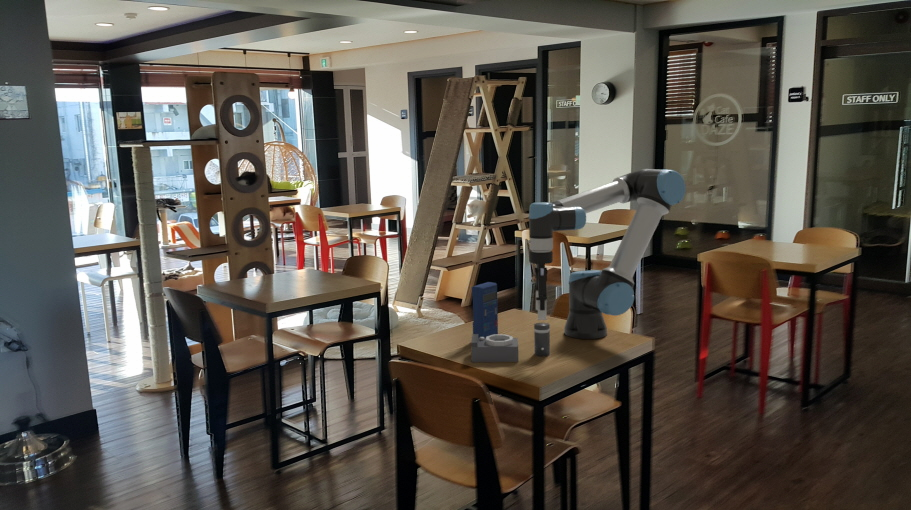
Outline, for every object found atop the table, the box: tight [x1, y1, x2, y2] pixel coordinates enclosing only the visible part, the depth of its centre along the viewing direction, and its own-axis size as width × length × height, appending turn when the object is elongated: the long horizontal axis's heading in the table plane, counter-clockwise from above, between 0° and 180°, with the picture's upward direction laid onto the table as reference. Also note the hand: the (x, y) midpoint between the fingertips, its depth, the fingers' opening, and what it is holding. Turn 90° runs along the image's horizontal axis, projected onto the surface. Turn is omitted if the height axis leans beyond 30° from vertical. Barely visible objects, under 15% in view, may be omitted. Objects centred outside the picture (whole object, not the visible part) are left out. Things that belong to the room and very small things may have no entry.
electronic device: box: [471, 281, 499, 338], centre depth 251 cm, size 10×5×20 cm, turn 141°
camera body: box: [470, 333, 519, 363], centre depth 231 cm, size 15×10×6 cm, turn 86°
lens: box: [533, 322, 551, 357], centre depth 233 cm, size 5×5×10 cm
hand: (540, 314), depth 231 cm, fingers open, 13 cm apart
